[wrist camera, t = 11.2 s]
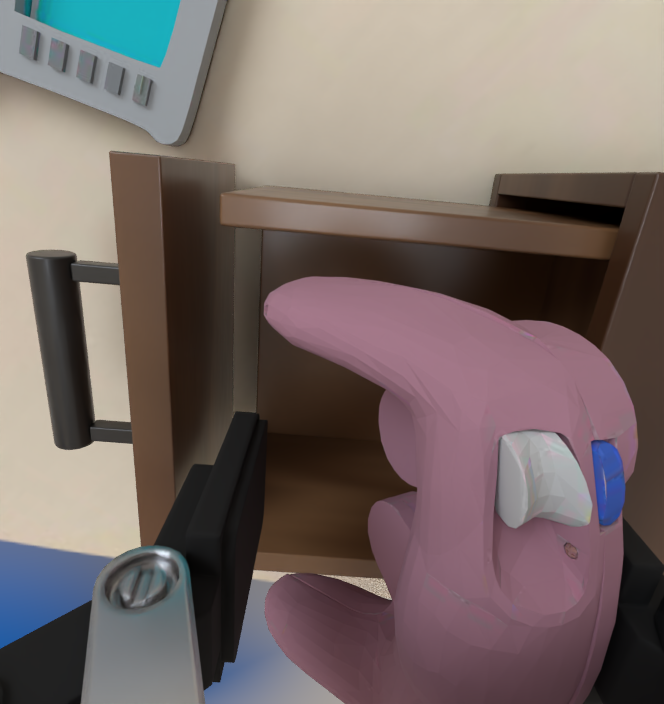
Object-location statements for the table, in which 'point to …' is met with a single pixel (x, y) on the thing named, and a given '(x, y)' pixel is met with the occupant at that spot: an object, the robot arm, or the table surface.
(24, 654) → the robot arm
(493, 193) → the cabinet
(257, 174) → the table surface
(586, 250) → the drawer
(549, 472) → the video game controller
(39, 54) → the office telephone
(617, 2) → the table surface
